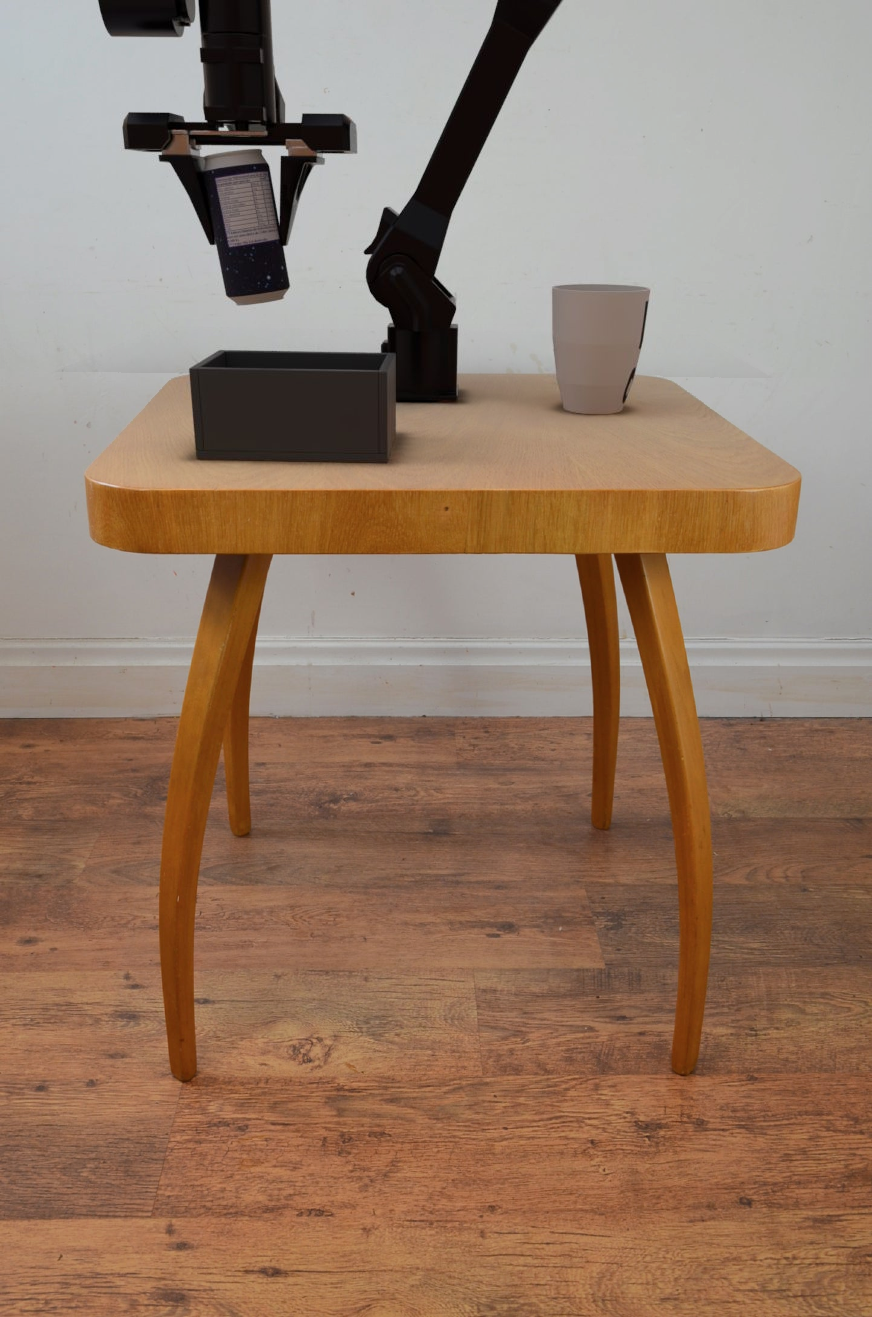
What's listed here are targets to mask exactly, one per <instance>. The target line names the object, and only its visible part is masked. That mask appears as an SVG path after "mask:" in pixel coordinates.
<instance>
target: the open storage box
mask: <svg viewBox="0 0 872 1317" xmlns="http://www.w3.org/2000/svg"><path fill="white" fill-rule="evenodd" d="M188 374H189V384H190V395H191V396H190V398H191V409H192V421H193V436H194V446H195V458H196V460H219V461H270V462H271V461H276V462H277V461H278V462H323V463H324V462H326V463H327V462H328V463H329V462H330V463H331V462H332V463H334V462H336V463H377V464H378V463H384V464H387V463H388V462H389V459H390V456H391V452H392V449H393V445H394V441H395V438H396V435H397V400H396V354H395V353H388V354H387V353H381V352H363V351H362V352H361V351H359V352H358V351H357V352H356V351H355V352H354V351H351V352H350V351H349V352H348V351H301V350H298V351H297V350H295V351H293V350H244V349H243V350H238V349H237V350H236V349H235V350H234V349H233V350H232V349H227V350H226V349H218V350H217V351H215V352H214V353H212V354H210V355H208V356H207V357H205V358H204V359H202V360H200V361H199V362H197V363H196V364H194V365H193V366H191V367H189V368H188Z"/></svg>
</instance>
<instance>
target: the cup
mask: <svg viewBox="0 0 872 1317" xmlns="http://www.w3.org/2000/svg"><path fill="white" fill-rule="evenodd" d="M650 294H651V288H650V287H646V286H639V285H628V284H609V283H607V284H605V283H604V284H603V283H577V284H573V283H572V284H559V285H553V286H551V314H552V315H551V316H552V318H551V320H552V322H551V323H552V324H551V326H552V327H551V329H552V330H551V332H552V334H551V337H552V339H551V340H552V347H553V357H554V358H553V359H554V367H555V376H556V382H557V385H558V390H559V395H560V398H561V403H562V406H563V410H565V411H567V412H571V413H574V414H575V413H576V414H583V415H611V414H617V413H620V412H622V411H623V409H624V406H625V403H626V402H627V398H628V395H629V394H630V391H631V388H632V385H633V383H634V379H635V375H636V371H637V367H638V363H639V359H640V355H641V352H642V346H643V342H644V337H645V331H646V322H647V316H648V309H649V300H650Z"/></svg>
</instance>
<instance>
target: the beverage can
mask: <svg viewBox="0 0 872 1317" xmlns="http://www.w3.org/2000/svg"><path fill="white" fill-rule="evenodd" d="M203 157H204V160H205V166H204V170H203V174H202V175H203V180H204V185H205V190H206V195H207V200H208V205H209V210H210V216H211V221H212V226H213V231H214V236H215V241H216V245H215V246H216V252H217V256H218V261H219V266H220V272H221V276H222V281H223V287H224V292H225V296H226V297H227V298H228V299H230V301H232V302H234V303H235V305H236V306H239V307H240V306H249V305H251V306H252V305H259V304H264V303H271V302H276V301H277V302H278V301H281V300H284V298H285V295H286V294H287V292H288V290H289V289H290V288H291V284H290V278H289V272H288V267H287V261H286V254H285V250H284V246H282V245H281V237H280V218H279V214H278V208H277V203H276V196H275V191H274V186H273V180H272V175H271V174H272V173H271V169H270V165H269V163H268V161H267V160H266V159H265V157H264V155H263V150H262V149H261V148H248V149H246V148H245V149H237V150H231V151H223V152H222V151H221V152H216V153H212V154H207V155H204V156H203Z"/></svg>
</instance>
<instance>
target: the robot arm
mask: <svg viewBox="0 0 872 1317" xmlns="http://www.w3.org/2000/svg"><path fill="white" fill-rule="evenodd" d="M271 1H272V0H197V3H198V4H197V5H198V16H199V17H198V18H199V30H200V43H201V47H199V56H200V57H199V58H200V63H202V70H203V71H202V72H203V86H204V87H203V88H204V89H203V93H202V110H203V116H204V121H186V120H185V117H184V116H183V115H180V114H177V113H173V112H159V111H157V112H156V111H155V112H153V111H152V112H151V111H149V112H147V111H146V112H145V111H144V112H143V111H141V112H140V111H137V112H136V111H128V113H127V114H126V115H125V117H124V119H123V122H122V126H121V128H122V137H123V147H124V148H123V149H124V150H125V151H135V152H140V153H161V154H158V156H157V157H158V161H159V162H160V163H166V164H167V163H168V164H170V166H171V167H172V169H173V171H174V172H175V174H176V177H177V178H178V179H179V181H180V184H181V185H182V187H183V189H184V190H185V192H186V194H187V196H188V198H189V200H190V203H191V205H192V207H193V208H194V211H195V213H196V216H197V218H198V221H199V224H200V225H201V228H202V230H203V232H204V234H205V237H206V239H207V241H208V244H209V245H210V246H216V241H215V236H214V231H213V226H212V221H211V216H210V210H209V205H208V200H207V195H206V190H205V185H204V180H203V175H202V174H203V170H204V166H205V160H204V157H205V156H201V150H202V146H214V147H215V146H216V147H217V146H219V147H220V146H221V147H223V146H225V147H227V146H228V147H229V146H230V147H231V146H232V147H236V146H237V147H239V146H240V147H241V146H242V147H285V150H287V155H280V166H279V169H280V171H279V172H280V173H279V174H280V175H279V181H280V182H279V225H280V237H281V245H282V246H283V247H286V246H288V245H289V241H290V238H291V234H292V231H293V226H294V223H295V218H296V215H297V211H298V207H299V204H300V199H301V196H302V193H303V190H304V189H305V185H306V183H307V181H308V178H309V176H310V174H311V173H312V171H313V168H314V167H316V166H324V165H325V162H326V158H325V157H323V155H324V154H325V155H327V154H329V155H330V154H331V155H332V154H335V155H337V154H338V155H345V154H347V155H354V154H356V155H357V154H358V132H357V131H358V130H357V124H356V123H355V122H354V121H353V119H351V117H350V116H348V115H346V114H344V113H312V112H311V113H308V112H306V113H304V112H303V113H301V121H300V122H286V102H285V99H284V97H283V95H282V92H281V89H280V86H279V83H278V79H277V77H276V68H275V62H274V61H275V60H274V45H273V25H272V23H273V22H272V6H271V5H272V4H271V3H272V2H271ZM97 2H98V7H99V12H100V15H101V19H102V22H103V25H104V27H105V30H106V32H107V34H108V35H109V36H110V37H112V38H182V37H183V35H184V33H185V27H186V28H187V27H191V26H192V24H193V23H194V22H195V20H196V0H97ZM563 2H564V0H497V2H496V6H495V9H494V13H493V15H492V20H491V23H490V25H489V29H488V30H487V33H486V35H485V37H484V39H483V42H482V44H481V46H480V48H479V50H478V53H477V55H476V56H475V59H474V61H473V64H472V65H471V68H470V70H469V71H468V75H467V76H466V79H465V81H464V83H463V86H462V88H461V90H460V92H459V94H458V96H457V98H456V101H455V103H454V105H453V108H452V109H451V112H450V114H449V116H448V119H447V121H446V122H445V125H444V127H443V130H442V132H441V133H440V136H439V138H438V140H437V142H436V145H435V147H434V149H433V151H432V154H431V156H430V158H429V160H428V162H427V165H426V167H425V169H424V171H423V173H422V175H421V177H420V180H419V182H418V185H417V187H416V189H415V191H414V192H413V194H412V195H411V197H410V198H409V199H408V201H407V203H405V205H404V207H403V208H402V210H401V211H400V213H398V211H396V210H395V209H394V208H392V207H391V206H384V207H383V210H382V213H381V216H380V220H379V223H378V227H377V231H376V234H375V236H374V238H373V240H372V241H371V243H370V245H368V246H367V247H366V248H365V249H364V250H363V254H364V255H366V256H369V255H370V257H369V258H368V261H367V264H366V268H365V281H366V284H367V287H368V290H369V293H370V294H371V295H372V297H373V299H374V300H375V301H376V302H377V303H379V304H380V305H381V306H382V307H384V308H386V309H387V310H388V313H389V315H390V318H391V321H392V322H389V323H388V324H387V326H386V328H387V329H386V330H387V332H386V334H387V335H386V336H387V338H386V339H384V340H383V341H382V342H381V344H380V353H387V354H388V353H395V354H396V401H447V402H448V401H449V402H450V401H451V402H452V401H453V402H454V401H459V384H458V356H459V355H458V354H459V353H458V351H459V349H458V348H459V324H458V323H453V320H454V318H455V315H456V312H457V299H456V296H454V295H453V294H452V293H451V291H450V290H449V289H448V288H447V287H446V286H445V285H444V284H443V283H442V282H441V281H440V280H439V279H438V278H437V277H436V276H435V275H436V272H437V268H438V264H439V261H440V258H441V254H442V250H443V247H444V243H445V240H446V237H447V233H448V229H449V225H450V222H451V218H452V216H453V212H454V210H455V207H456V205H457V204H458V201H459V199H460V197H461V195H462V193H463V191H464V188H465V187H466V184H467V182H468V180H469V178H470V176H471V173H472V172H473V169H474V167H475V165H476V163H477V161H478V160H479V156H480V154H481V152H482V151H483V149H484V146H485V144H486V142H487V140H488V138H489V136H490V133H491V131H492V129H493V127H494V125H495V123H496V121H497V119H498V117H499V114H500V112H501V110H502V108H503V106H504V104H505V102H506V100H507V98H508V95H509V93H510V91H511V89H512V87H513V84H514V82H515V80H516V78H517V76H518V74H519V72H520V70H521V67H522V65H523V64H524V61H525V59H526V57H527V55H528V53H529V51H530V50H531V48H532V47H533V46H534V44H535V42H536V41H537V40H538V38H539V37H540V35H541V34H542V32H543V31H544V30H545V28H546V27H547V25H548V24H549V23H550V21H551V20H552V18H553V16H554V15H555V14H556V12H557V11H558V10H559V8H560V7H561V5H562V3H563ZM225 126H226V128H227V130H220V129H224V128H225Z"/></svg>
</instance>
